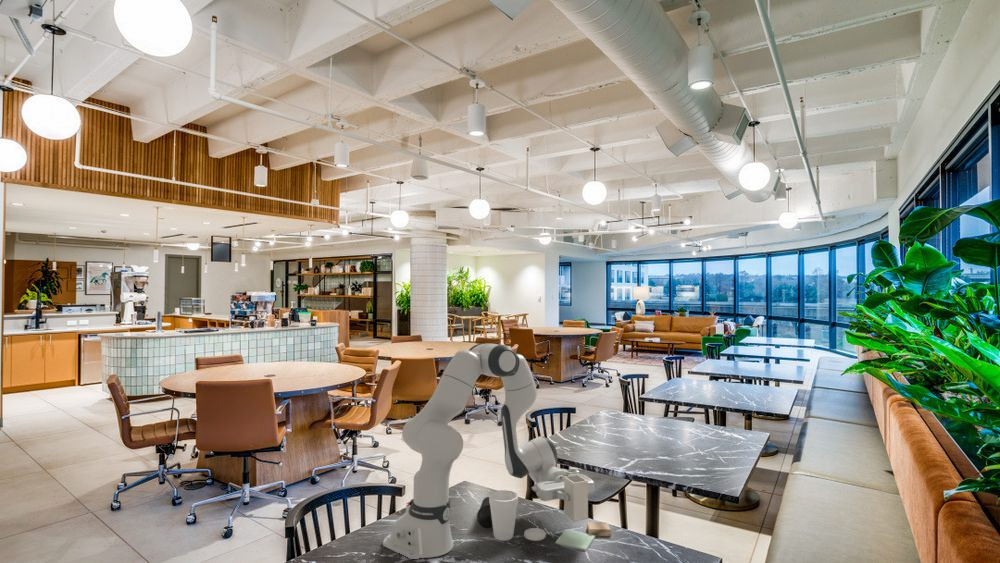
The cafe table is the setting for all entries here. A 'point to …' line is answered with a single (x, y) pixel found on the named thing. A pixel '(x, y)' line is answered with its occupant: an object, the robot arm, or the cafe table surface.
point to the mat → (575, 539)
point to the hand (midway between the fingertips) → (577, 496)
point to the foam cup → (503, 513)
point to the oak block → (598, 529)
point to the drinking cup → (485, 514)
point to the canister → (576, 497)
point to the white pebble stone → (534, 534)
